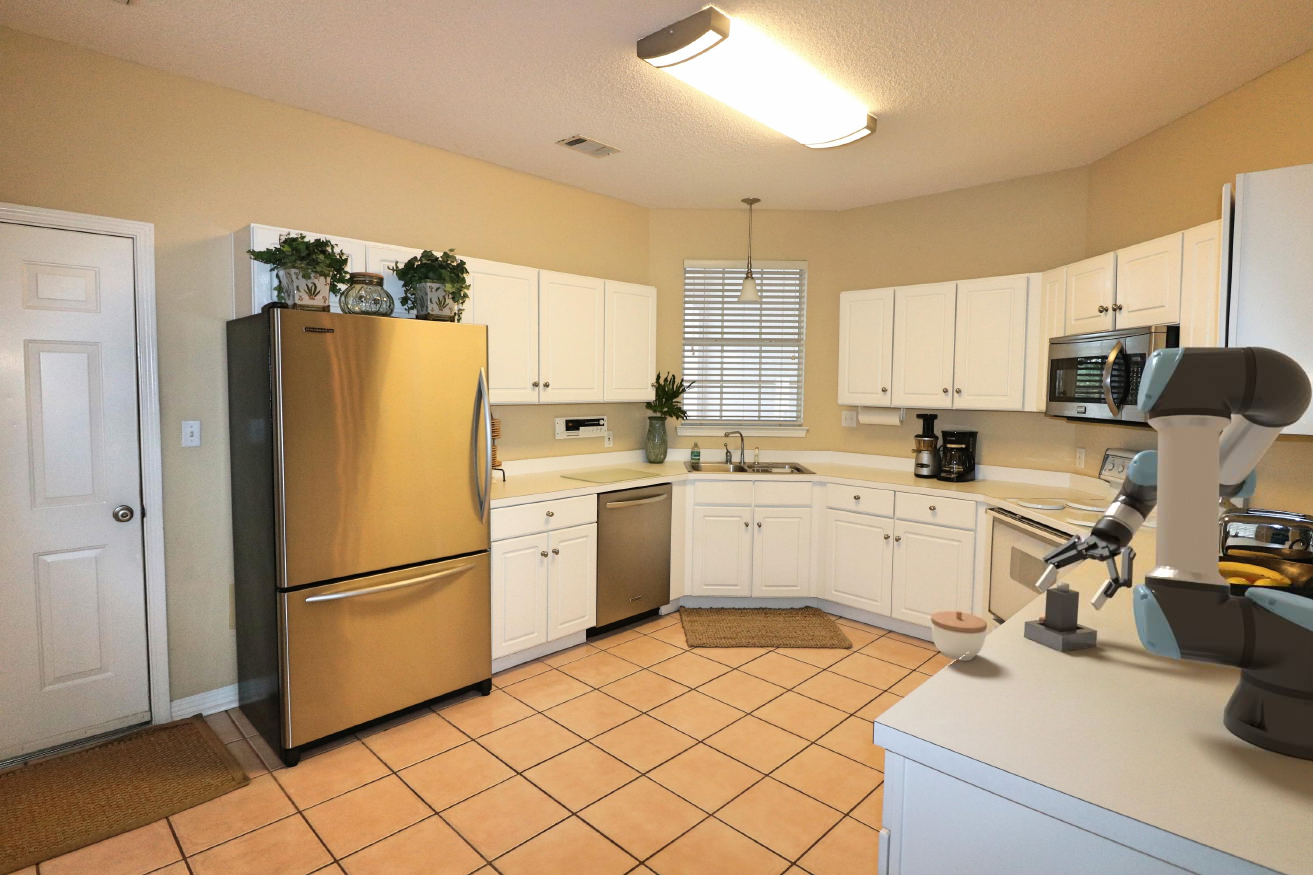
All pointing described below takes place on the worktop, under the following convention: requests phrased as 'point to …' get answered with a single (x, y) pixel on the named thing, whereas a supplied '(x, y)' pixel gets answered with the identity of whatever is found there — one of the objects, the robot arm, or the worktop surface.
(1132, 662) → the worktop surface
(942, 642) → the lidded jar
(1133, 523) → the robot arm
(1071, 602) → the plug
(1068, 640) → the socket
